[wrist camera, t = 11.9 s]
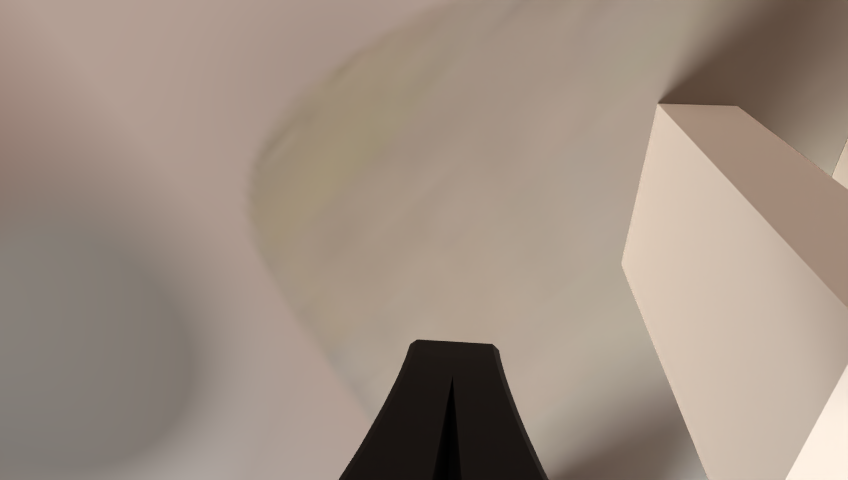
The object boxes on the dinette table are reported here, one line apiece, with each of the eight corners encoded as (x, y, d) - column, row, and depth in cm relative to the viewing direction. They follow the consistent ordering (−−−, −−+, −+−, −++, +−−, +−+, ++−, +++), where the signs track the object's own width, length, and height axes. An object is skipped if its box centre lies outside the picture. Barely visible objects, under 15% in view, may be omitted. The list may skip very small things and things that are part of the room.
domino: (737, 105, 14) (1044, 339, 6) (688, 267, 17) (867, 571, 9) (657, 103, 14) (866, 328, 7) (621, 264, 17) (741, 561, 9)
